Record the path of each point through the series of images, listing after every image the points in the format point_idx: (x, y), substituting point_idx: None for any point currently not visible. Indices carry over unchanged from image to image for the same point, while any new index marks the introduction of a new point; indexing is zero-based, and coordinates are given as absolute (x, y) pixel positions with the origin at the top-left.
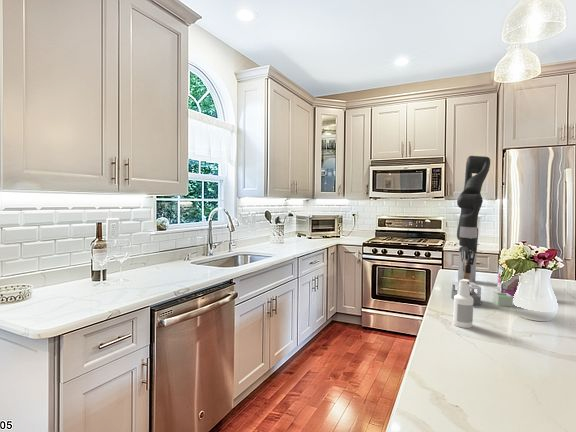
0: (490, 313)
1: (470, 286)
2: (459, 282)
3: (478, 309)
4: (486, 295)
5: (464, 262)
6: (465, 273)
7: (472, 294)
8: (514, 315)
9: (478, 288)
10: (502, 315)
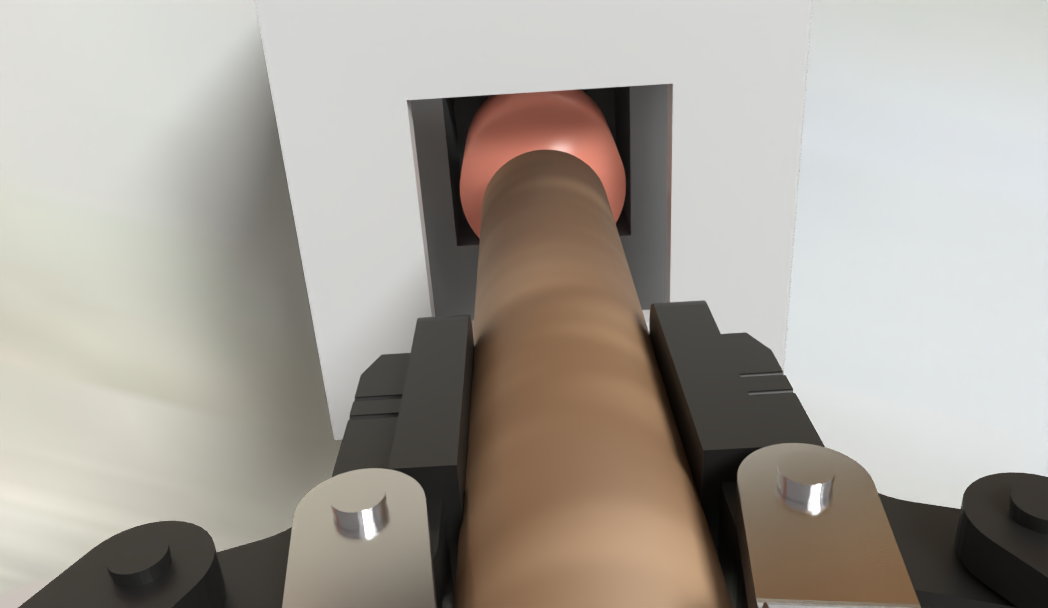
0: (24, 316)
1: (381, 268)
2: (726, 109)
3: (149, 208)
4: (927, 488)
5: (563, 515)
6: (488, 306)
7: (477, 255)
8: (82, 549)
9: (330, 388)
10: (9, 430)
